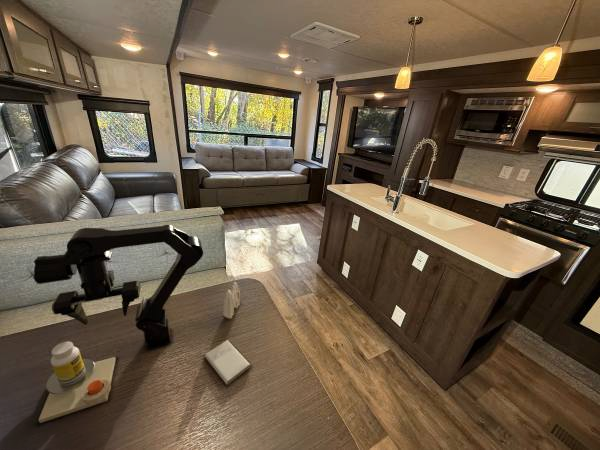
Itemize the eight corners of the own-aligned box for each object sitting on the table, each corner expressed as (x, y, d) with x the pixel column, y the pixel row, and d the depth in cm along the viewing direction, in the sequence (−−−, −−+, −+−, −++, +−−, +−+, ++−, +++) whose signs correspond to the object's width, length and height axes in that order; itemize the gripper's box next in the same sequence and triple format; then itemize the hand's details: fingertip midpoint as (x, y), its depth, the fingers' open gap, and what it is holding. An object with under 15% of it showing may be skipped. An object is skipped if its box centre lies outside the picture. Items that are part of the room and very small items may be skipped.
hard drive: (226, 385, 70) (205, 357, 78) (250, 367, 76) (227, 342, 83) (226, 382, 70) (204, 354, 77) (250, 363, 75) (227, 339, 83)
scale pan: (98, 355, 72) (98, 354, 72) (90, 385, 64) (89, 384, 64) (55, 367, 68) (54, 365, 68) (40, 400, 60) (39, 399, 60)
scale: (118, 358, 75) (116, 351, 74) (109, 402, 64) (107, 394, 63) (59, 375, 69) (56, 367, 68) (38, 425, 58) (34, 418, 57)
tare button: (103, 382, 66) (102, 378, 65) (101, 392, 63) (99, 388, 63) (90, 386, 64) (88, 382, 64) (87, 396, 62) (85, 392, 61)
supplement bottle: (80, 381, 64) (69, 354, 61) (54, 386, 63) (41, 359, 59) (88, 362, 69) (79, 337, 65) (64, 367, 67) (54, 341, 64)
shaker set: (231, 322, 92) (230, 298, 87) (220, 320, 92) (219, 297, 88) (241, 301, 103) (241, 279, 98) (232, 299, 103) (231, 277, 99)
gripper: (138, 254, 77) (145, 295, 83) (58, 264, 68) (73, 308, 75) (134, 274, 68) (143, 318, 74) (42, 288, 59) (61, 336, 65)
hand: (106, 319), depth 72 cm, fingers open, 9 cm apart
